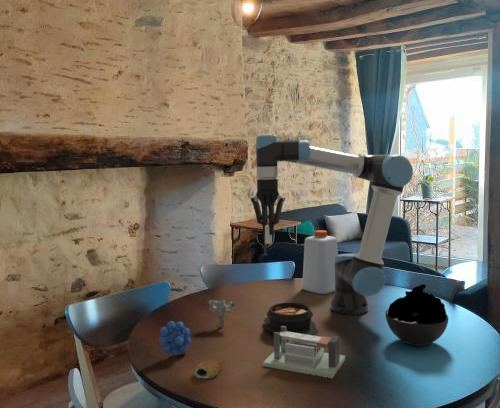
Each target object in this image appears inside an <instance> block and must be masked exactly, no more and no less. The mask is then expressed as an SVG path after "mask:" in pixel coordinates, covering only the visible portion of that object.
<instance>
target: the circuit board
mask: <svg viewBox="0 0 500 408" xmlns="http://www.w3.org/2000/svg"><path fill="white" fill-rule="evenodd" d="M284 354H285V352H281V345H280V359H279V360H278V359H274V351H273V352H272V353H271V354H270V355H269V356H268V357H266V358H265V360H264V361H263V362H262V363H263V364H262V367H267V368H272V369H278V370H282V371H283V370H284V371H289V372H294V373H301V374H304V375H310V374H311V376H316V375H317V377H321V376H322V378H327V377H328V379H334V378H335V376H336V375H335V374H337V373H338V372H337V371H339V370H340V369H341V367H342V365H343V364H344V363H345V361H346V355H343V354H340V361H339V363H338V364H337V366H336V367H335V368H333V367H329V355H328V352H324V355H323V356H322V357H321V359H320V360H319V361H318V363H317V364H316V365H315V367H314V368H313V369H312V368H306V367H300V366H295V365H289V364H285V355H284ZM333 377H334V378H333Z"/></svg>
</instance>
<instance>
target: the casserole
mask: <svg viewBox="0 0 500 408" xmlns="http://www.w3.org/2000/svg"><path fill="white" fill-rule="evenodd" d="M266 316H267V317H265V318H264V319H263V321H264V327H265V329H266V331H269V332H270V333H273V334H274V332H278V333H280V332H281V326H286V328H287V331H288V332H294V333H299V334H306V335H313V336H316V335H317V334H318V333H319V330H318V328H317V326H316V323H315V322H314V321H312V318H313V316H314V312H313V311H312V310H311V307H310V306H308V305H307V304H303V303H300V302H281V303H275V304H274V305H271V306H270V307H269V309H268V311H267V312H266Z"/></svg>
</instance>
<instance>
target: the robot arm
mask: <svg viewBox="0 0 500 408" xmlns="http://www.w3.org/2000/svg"><path fill="white" fill-rule="evenodd" d="M255 155H256V156H255V158H256V178H257V180H256V189H257V191H256V194H255V196H253V197H251V198H250V202H251V203H252V205H253V210H254V213H255V218H256V222H257V223H258V225H261V226H262V235H264V243H265V245H270V244H272V243H273V235H274V234H275V225H278V224H279V223H280V219H281V215H282V214H281V213H282V209H283V205H284V203H285V201H286V198H285V197H282V196H281V195H280V193H279V190H278V189H279V182H278V181H279V179H277V178H278V173H279V171H278V163H279V162H288V163H294V164H299V165H305V166H309V167H314V168H319V169H324V170H331V171H336V172H340V173H346V174H351V175H352V176H353V177H354V178H358V179H362V180H364V181H365V180H366V181H368V182H372V183H371V186H370V187H371V188H372V190H373V193H372V198H371V202H370V206H369V212H368V214H367V218H366V222H365V226H364V231H363V234H362V238H361V241H360V245H359V250H358V252H357V253H341V254H338V255H337V256H336V257H335V263H334V264H335V291H334V292H333V296H332V299H331V302H330V310H331V311H333V312H334V313H337V314H341V315H349V316H350V315H354V316H355V315H356V316H357V315H362V314H365V313H367V312H369V303H368V300H367V297H374V296H375V295H378V293H380V292H381V291H382V290H383V289H384V286H385V283H386V276H385V273H384V272H383V269H384V265H385V263H384V260H383V259H382V257H383V253H384V248H385V244H386V240H387V237H388V233H389V229H390V225H391V220H392V219H393V218H392V217H393V214H394V210H395V206H396V201H397V198H398V196H400V195H402V194H403V192H404V187H405V186H406V185H408V184H409V183H410V182H411V180H412V179H413V178H412V177H413V175H414V171H413V165H412V164H411V161H410V160H409V159H408V158H407V157H406V156H403V155H401V154H400V155H399V154H394V153H392V154H391V153H390V154H363V153H358V154H356V155H355V154H351V153H350V154H349V153H344V152H341V151H335V150H331V149H326V148H320V147H316V146H311V144H310V141H308V140H307V139H289V140H280V139H279V140H278V137H277V135H276V134H266V135H265V134H264V135H258V136H256V139H255ZM276 202H277V203H276ZM275 203H276V208H275Z"/></svg>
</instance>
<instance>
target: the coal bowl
mask: <svg viewBox="0 0 500 408" xmlns="http://www.w3.org/2000/svg"><path fill="white" fill-rule="evenodd" d="M426 287H427V285H426V284H425V283H424V284H423V283H422V284H420V285H418V286H415V287H413V288H412V289H411V290H410V291H408V290H406V291H405V292H404V293H405V295H404V296H403V297H399V298H396V299H395V300H393V301H392V303H390V304H389V306H388V308H387V309H386V311H385V319H386V322H387V326H388V328H389V330H390V331H391V332H392V333H393V335H394V336H396V337H397V338H398V339H399V340H401V341H403V342H405V343H406V344H408V345H414V346H426V345H429V344H432V343H434V342H436V341H437V340H438V339H439V338H441V336H443V334H444V333H445V331H446V329H447V327H448V324H449V315H448V314H447V311H446V308H445V307H446V306H445V304H444V302H442V300H441V298H440V297H437V296H435V295H433V294H432V293H430V294H429V293H428V292H425V291H424V289H426Z"/></svg>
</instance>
